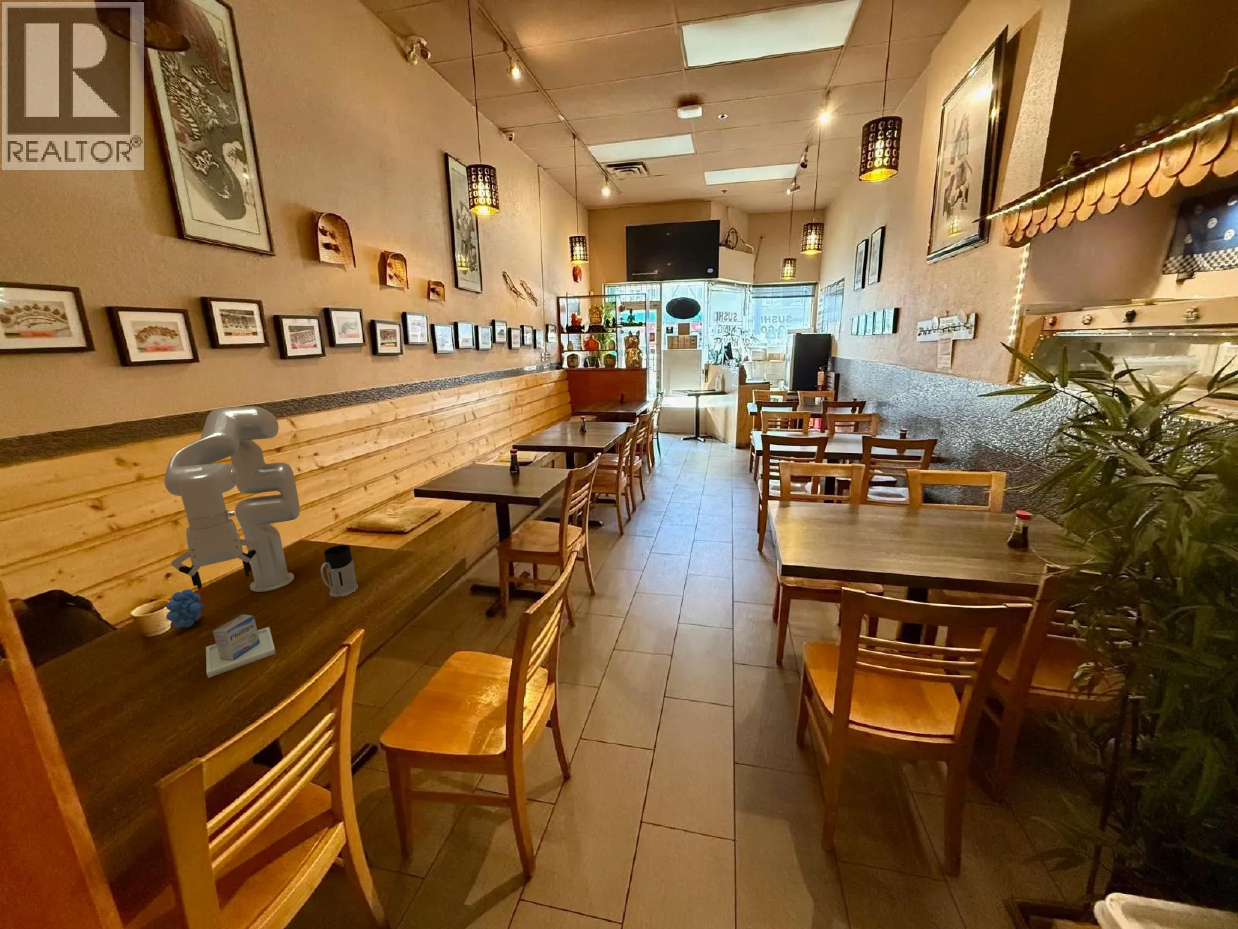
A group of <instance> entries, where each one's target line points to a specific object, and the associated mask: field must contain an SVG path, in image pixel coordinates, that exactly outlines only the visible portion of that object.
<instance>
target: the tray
mask: <svg viewBox="0 0 1238 929" xmlns="http://www.w3.org/2000/svg"><path fill="white" fill-rule="evenodd" d="M257 631H258V636H259V640H260V643H259V644H257V645H256V646H254V647H253V648H251V649H250V650H248V651H247V652H245V653H244V654H242V655H241V656H239V657H238V658H236V659H235V660H228V659H220V656H219V653H218V649H217V645H216V643H214V644H210V645H208V646H206V647H205V658H206V659H205V663H206V676H207V678H208V679H209V678H211V677H214V676H215V677H216V676H217V675H221V674H223V673H226V672H229V671H232V670H234V669H237V668H240V667H244V666H246V665H249V664H252V663H254V662H257V661H260V660H263V659H265V658H269V657H271V656H274V655H276V654H277V652H276V649H275V644H274V642H273V637H272V631H271V629H270V626H268V627H267V626H266V627H264V628H260V629H257Z"/></svg>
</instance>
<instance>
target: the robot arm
mask: <svg viewBox="0 0 1238 929" xmlns="http://www.w3.org/2000/svg"><path fill="white" fill-rule="evenodd" d="M279 428H280V426H279V422H278V420H277V418H276V416H275V415H274V414H273V413H272V412H270V411H269V410H267V409H265V408H263V407H259V406H253V405H252V406H251V405H250V406H233V407H220V408H219V407H218V408H215V409H214V410H212V411H210V412H209V413H208V415H207V417H206V420H205V423H204V426H203V429H202V432H201V435H200V438H198V439H197V440H195V441H192V442H191V443H189V444H187V445H186V446H184V447H182V448H180V450H178V451H176V452H175V453H174V454H173V455H172V456H171V458H170V460H169V462H168V464H167V467H166V470H165V473H164V478H163V479H164V486H165V489H166V490H167V492H168V493H170V494H171V495H173V496H178V497H181V500H182V503H183V504H182V505H183V508H184V510H185V515H186V519H187V522H188V526H187V528H186V530H185V532H186V533H185V534H186V543H187V544H186V545H187V551H185V552H184V553H181V555H179V556H178V557H176V558H174V559H173V560H171V563H170V565H171V566H173V567H174V569H176V570H178V571H179V572H180V573H181V574H185V575H188V576H189V577H190V578H191V582H192V585H193V587H197V590H202V589H203V583H202V580H201V577H200V572H199V570H200V568H201V567H206V566H210V565H214V564H218V563H223V562H227V561H232V560H235V559H239V560H241V562H242V566H243V570H244V574H245V577H246V578H247V577H250V573H251V572H252V576H253V580H254V581H252V582H251V583H250V584H249V588H250V589H249V590H251V591H252V592H257V593H262V592H269V591H274V590H277V589H280V588H282V587H285V586H288V585H290V583H292V582H293V581H294V580H295V575H294V573H293V572H290V571H289V572H288V568H287V562H286V558H285V552H284V548H283V543H282V538H281V534H280V532H279V530H278V529H277V528H275V527H274V526H273V525H272V524H276V523H284V522H289V521H293V520H296V519H298V518H299V516H300V514H301V510H300V509H301V508H300V502H299V494H298V490H297V489H298V488H297V483H296V479H295V474H294V471H293V468H292V467H291V466H290V465H289V464H288V463H286V462H271V463H270V462H269V463H266V462H265V458H264V453H263V449H262V448H261V447H260V445H259V444H258V443H256V442H255V441H254V440H266V439H268V440H269V439H272V438H275V437H276V436H277V435H278V433H279V430H280V429H279ZM228 458H230V460H231V463H229V462H228V463H226V462H220V461H223V460H225V459H228ZM235 487H236V488H237V490H238V492H240V493H241V494H245V495H247V494H250V495H251V494H260V493H261V494H262V493H268V492H279V494H271V495H261V496H256V497H248V498H244V499H242V500H241V501H239V502H238V503H237V504H236V505H235V507H234V510H231V511H230V510H227V508H226V504H225V500H224V496H223V493H226V492H228V491H231V490H233V489H234V488H235ZM234 516H235V517H236V520H237V522H238V523H239V526H240V528H241V530H242V533H243V537H244V539H243V538H241V537H240V534H239V531H238V529H237V525H236V524H235V522H234V520H233V519H232V518H231V517H234ZM243 546H246V549H247V553H246V552H245V551H243ZM188 559H190V561H191V562H190V563H191V565H190V566H187V565H185V564H183V562H184V561H186V560H188Z"/></svg>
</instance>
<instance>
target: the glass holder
mask: <svg viewBox="0 0 1238 929" xmlns="http://www.w3.org/2000/svg"><path fill="white" fill-rule="evenodd" d="M351 550H352V549H351V546H350V545H348V544H347V545H346V544H341V545H340V544H339V545H335V546H331V547H329V548H327V549H325V550H324V552H323V553H324V554H323V555H324V560H325V562H324V563H322V565H321V566H320V575H321V576H320V577H321V579H322V582H323V583H324V585H325V586H326V587H328V588H329V596H330V597H332V596H334V597H333V598H340V597H339V596H342V597H345V596H349V594H350V595H352V594H353V593H352V592H354V593H355V591H356V589H358V586H359V584H358V583H357V576H356V571H355V564H354V559H353V556H352V552H351ZM324 567H325V569H326V574H327V579H328V582H327V581H326V578H325V574H324ZM358 590H359V589H358ZM356 592H357V591H356ZM351 593H352V594H351Z"/></svg>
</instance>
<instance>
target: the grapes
mask: <svg viewBox="0 0 1238 929" xmlns="http://www.w3.org/2000/svg"><path fill="white" fill-rule="evenodd" d="M171 599H172V600H170V601H168V602H166V604H165V608H166V609H167V610H168V611H169V612H167V613H166V615H165V618H166V619H167V620H168V621H169V622H172V626H173V627H174V628H178V629H179V628H182V627H183V628H185V629H186V628H190V627H192V626H193V625H194V624H195V622H197V621H199V620H200V619H201V617H202V614H201V613H200V612H201V611H202V610H203V608H204V607H205V606H204V604H203V603H202V602H200V600H201V599H202V598H201V596H200V594H199V593H195V592H193V591H192V590H191V589H188V588H187V589H184V590H182V591H177V592H175V593H173V594H172V596H171Z"/></svg>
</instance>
